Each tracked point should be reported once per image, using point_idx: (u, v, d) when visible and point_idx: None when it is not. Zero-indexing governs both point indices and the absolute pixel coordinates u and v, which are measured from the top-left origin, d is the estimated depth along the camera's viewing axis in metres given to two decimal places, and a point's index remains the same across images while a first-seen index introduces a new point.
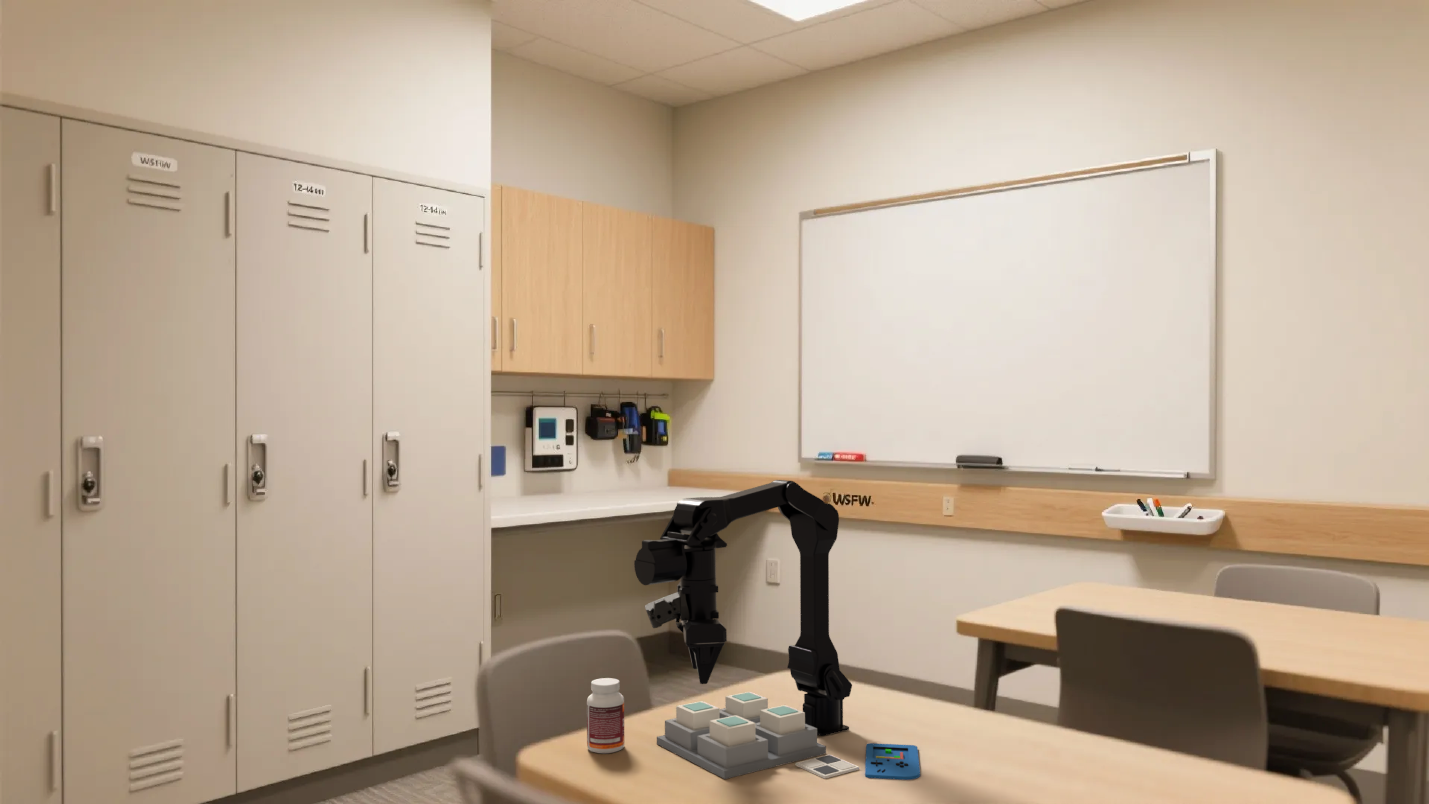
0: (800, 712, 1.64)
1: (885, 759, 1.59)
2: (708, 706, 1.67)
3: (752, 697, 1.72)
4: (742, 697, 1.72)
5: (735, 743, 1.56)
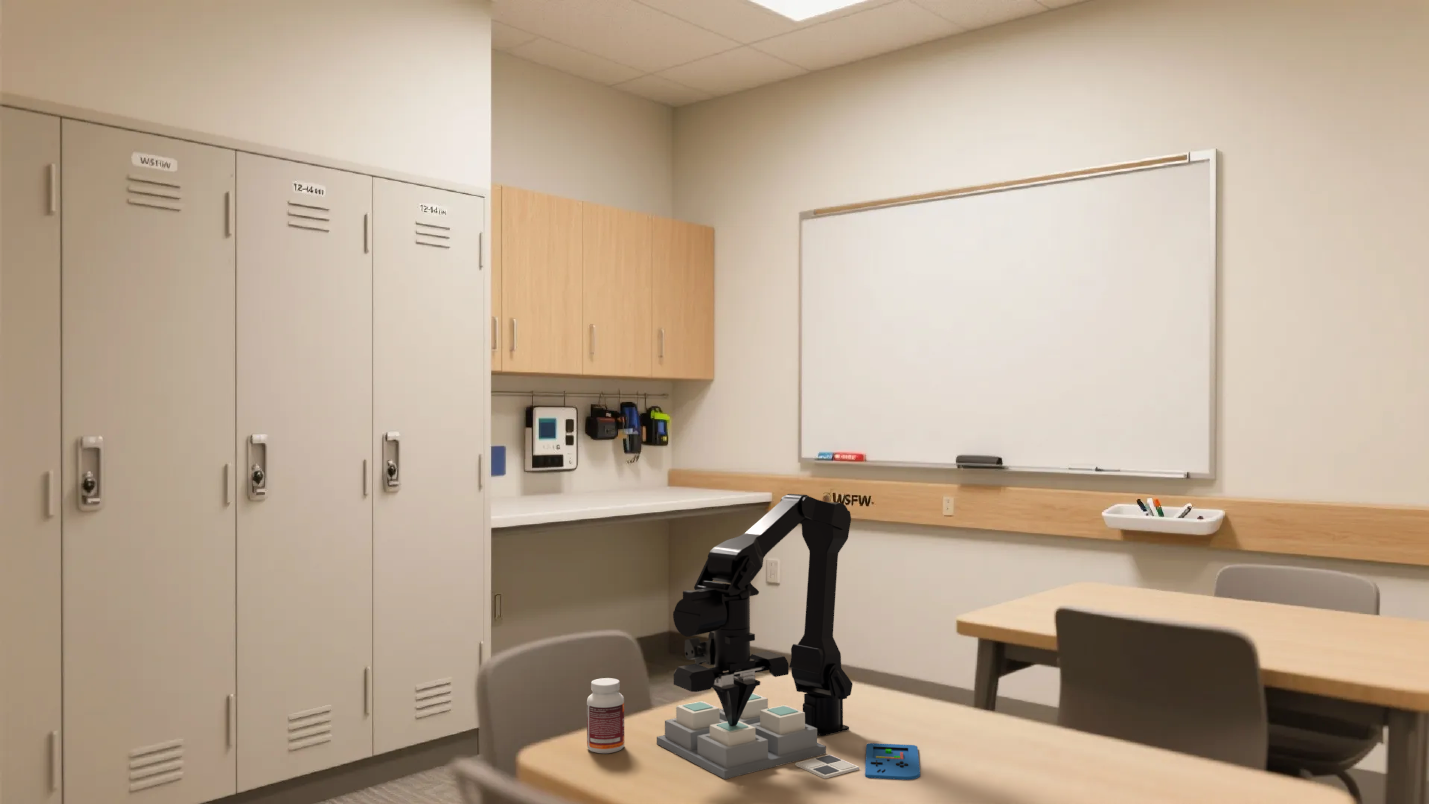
0: (800, 712, 1.64)
1: (885, 759, 1.59)
2: (708, 706, 1.67)
3: (752, 697, 1.72)
4: None
5: None
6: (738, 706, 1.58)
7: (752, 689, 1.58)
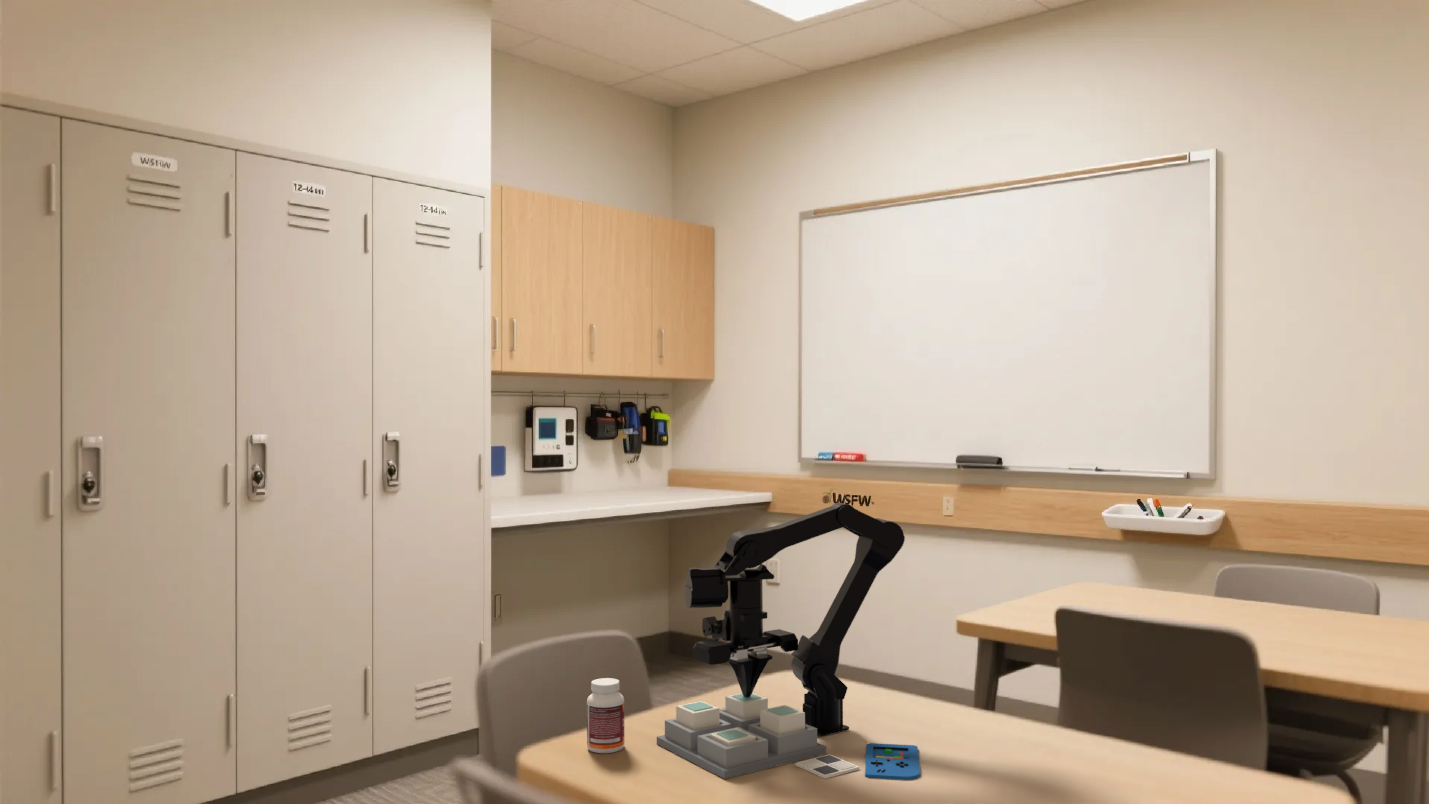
0: (800, 712, 1.64)
1: (885, 759, 1.59)
2: (708, 706, 1.67)
3: (752, 697, 1.72)
4: (742, 697, 1.72)
5: None
6: (752, 678, 1.72)
7: (765, 663, 1.72)
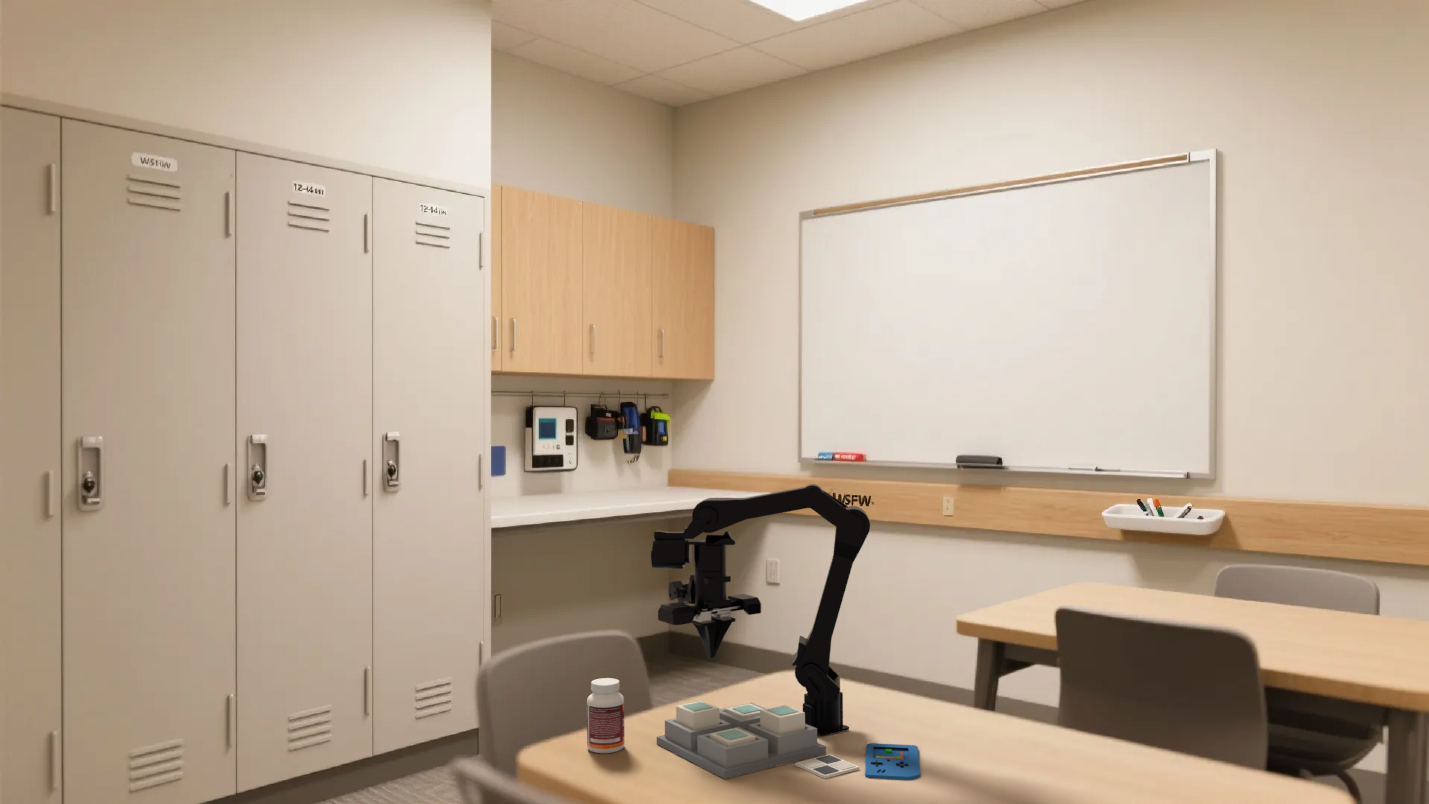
0: (800, 712, 1.64)
1: (885, 759, 1.59)
2: (708, 706, 1.67)
3: (752, 709, 1.72)
4: (742, 709, 1.72)
5: None
6: (716, 640, 1.77)
7: (728, 625, 1.77)
